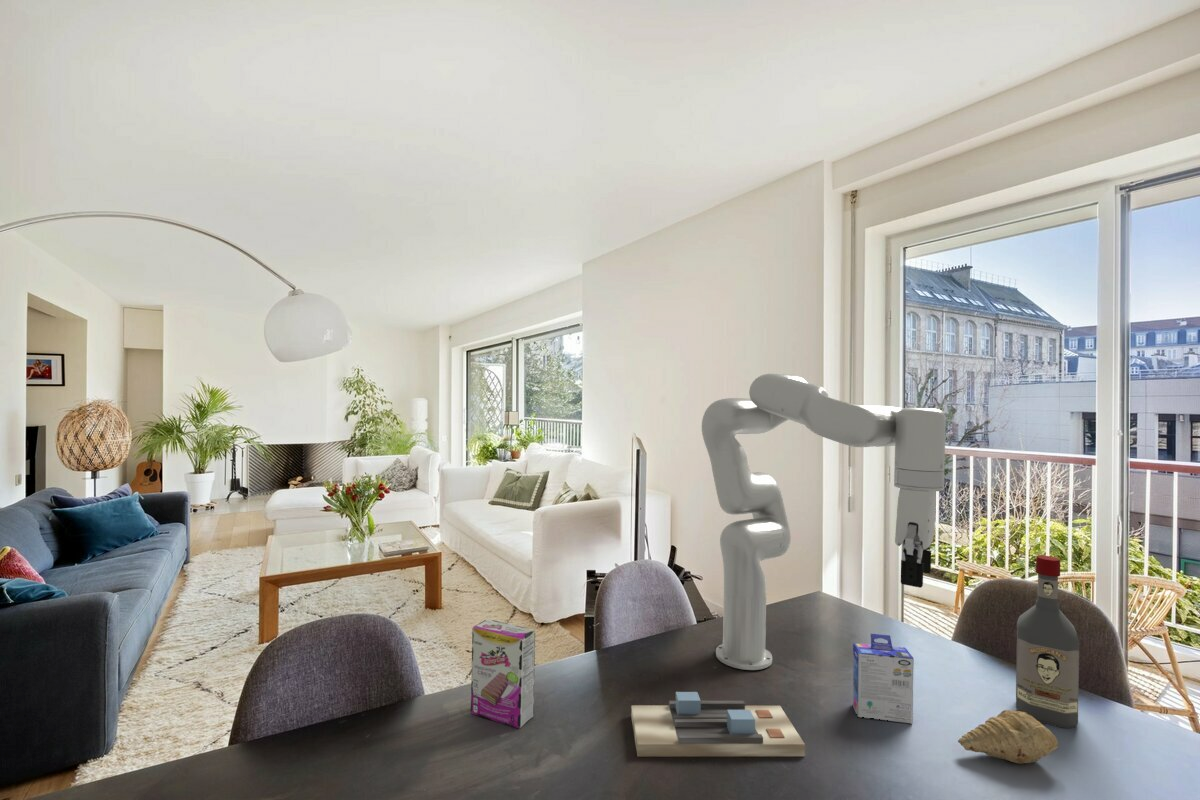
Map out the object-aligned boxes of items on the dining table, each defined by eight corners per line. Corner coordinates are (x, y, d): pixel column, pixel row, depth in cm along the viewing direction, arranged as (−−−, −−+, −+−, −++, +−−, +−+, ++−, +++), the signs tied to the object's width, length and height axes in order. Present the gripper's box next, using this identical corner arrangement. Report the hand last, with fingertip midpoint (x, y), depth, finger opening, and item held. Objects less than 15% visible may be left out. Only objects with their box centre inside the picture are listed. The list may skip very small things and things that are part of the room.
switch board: (631, 716, 106) (631, 700, 106) (779, 716, 107) (780, 700, 107) (637, 756, 94) (637, 738, 94) (804, 756, 95) (805, 738, 95)
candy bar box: (469, 715, 105) (470, 626, 105) (485, 702, 110) (486, 617, 110) (520, 731, 100) (521, 638, 100) (535, 716, 105) (536, 628, 105)
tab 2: (726, 727, 99) (727, 709, 99) (749, 727, 99) (749, 709, 99) (731, 737, 96) (731, 719, 96) (754, 737, 96) (755, 719, 96)
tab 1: (675, 708, 105) (675, 691, 105) (697, 708, 105) (697, 691, 105) (678, 717, 102) (678, 700, 102) (700, 717, 102) (700, 700, 102)
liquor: (1015, 696, 116) (1018, 549, 116) (1073, 711, 110) (1076, 557, 110) (1016, 716, 108) (1019, 558, 108) (1078, 733, 103) (1081, 567, 103)
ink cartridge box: (905, 709, 110) (906, 634, 110) (915, 725, 105) (916, 646, 105) (850, 703, 112) (852, 629, 112) (857, 718, 107) (858, 641, 107)
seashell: (980, 776, 90) (981, 726, 90) (946, 745, 98) (947, 699, 98) (1063, 775, 91) (1063, 725, 91) (1023, 745, 99) (1023, 699, 99)
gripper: (902, 472, 107) (900, 563, 107) (884, 482, 93) (882, 586, 93) (949, 476, 103) (946, 571, 103) (937, 487, 89) (934, 596, 89)
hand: (916, 578), depth 98 cm, fingers open, 9 cm apart
